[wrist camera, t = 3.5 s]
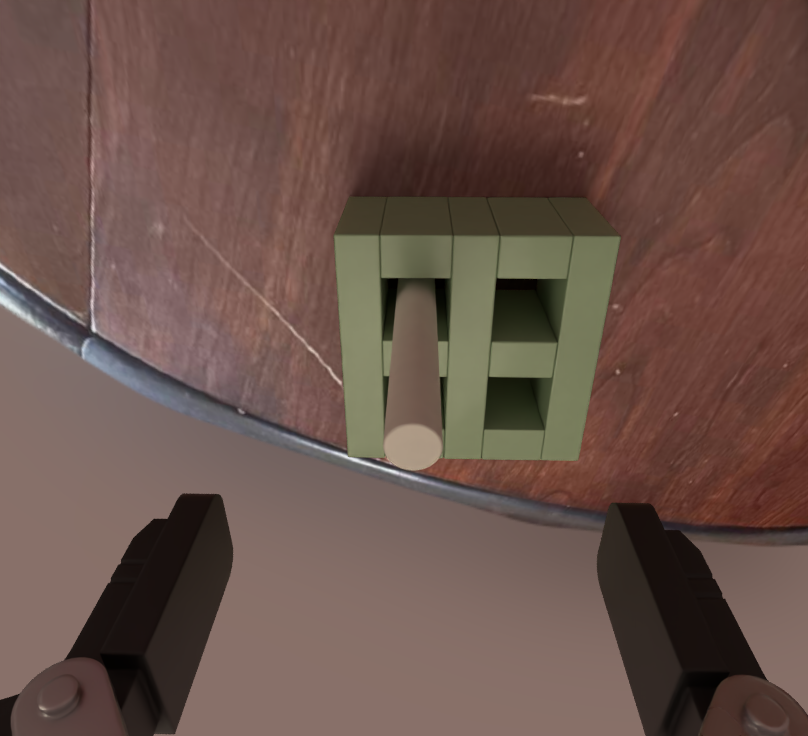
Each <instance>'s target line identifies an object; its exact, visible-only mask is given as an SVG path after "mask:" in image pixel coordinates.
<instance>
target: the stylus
mask: <svg viewBox="0 0 808 736" xmlns="http://www.w3.org/2000/svg"><path fill="white" fill-rule="evenodd" d="M383 449H384V453H385V455H386V457H387V458H388V459H389V461H390V462H391V463H393V464H394V465H395V466H397V467H399V468H402V469H406V470H421V469H425V468H427V467H429V466H431V465H433V464H434V463H435V462H436V461H437V460H438V459H439V457H440V456H441V454H442V450H443V437H442V417H441V396H440V376H439V356H438V335H437V315H436V294H435V278H398V286H397V297H396V308H395V319H394V330H393V341H392V352H391V363H390V374H389V385H388V396H387V407H386V418H385V430H384V441H383Z"/></svg>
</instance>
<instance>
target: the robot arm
mask: <svg viewBox="0 0 808 736" xmlns="http://www.w3.org/2000/svg"><path fill="white" fill-rule="evenodd" d="M232 562H233V545H232V540H231V535H230V531H229V526H228V522H227V517H226V513H225V508H224V504H223V500H222V497H221V496H220V495H219V494H182V495H180V497H179V498H178V500H177V501H176V503H175V506H174V508H173V509H172V511H171V513H170V515H169V517H168V519H153V520H152V521H151V522H150V523H149V524H148V525H147V526H146V527H145V528H144V529H142V530H141V531H140V532H139V533H138V534H137V535H136V536H135V537H134V538H133V540H132V541H131V543H130V545H129V547H128V549H127V550H126V552H125V554H124V556H123V558H122V559H121V564H120V565H118V566H117V568H116V570H115V572H114V574H113V575H112V577H111V582H110V583H108V585H107V586H106V588H105V590H104V592H103V593H102V595H101V597H100V599H99V600H98V602H97V604H96V606H95V608H94V610H93V611H92V613H91V615H90V617H89V618H88V620H87V622H86V624H85V626H84V627H83V629H82V631H81V633H80V635H79V636H78V638H77V640H76V642H75V644H74V645H73V647H72V649H71V651H70V652H69V654H68V655H67V657H66V658H65V660H64V661H61V662H59V663H56V664H54V665H52V666H50V667H49V668H47V669H45V670H44V671H43V672H41V673H40V674H38V675H37V676H36V677H35V678H34V679H32V680H31V681H30V682H29V684H28V685H27V686H26V687H25V688H24V689H23V691H22V692H21V693H20V694H18V695H15V696H12V697H9V698H5V699H2V700H0V736H153V735H154V734H175V732H176V729H177V726H178V723H179V720H180V717H181V715H182V712H183V709H184V706H185V703H186V700H187V697H188V694H189V692H190V689H191V686H192V683H193V680H194V677H195V674H196V672H197V669H198V666H199V663H200V660H201V657H202V654H203V652H204V649H205V646H206V643H207V640H208V637H209V634H210V631H211V628H212V625H213V623H214V620H215V617H216V614H217V611H218V608H219V606H220V602H221V600H222V597H223V594H224V591H225V588H226V585H227V582H228V580H229V577H230V573H231V568H232ZM597 573H598V580H599V584H600V588H601V591H602V594H603V598H604V601H605V605H606V608H607V611H608V614H609V618H610V621H611V624H612V627H613V631H614V634H615V637H616V640H617V644H618V647H619V650H620V654H621V657H622V660H623V663H624V667H625V670H626V673H627V676H628V679H629V683H630V686H631V689H632V693H633V696H634V699H635V702H636V706H637V709H638V712H639V715H640V719H641V722H642V725H643V729H644V732H645V735H646V736H808V715H807V714H806V712H805V711H804V709H803V708H802V707H801V706H800V705H799V703H798V702H797V701H796V700H795V699H793V698H792V697H791V696H790V695H789V694H788V693H787V692H785V691H784V690H782V689H781V688H779V687H778V686H776V685H775V684H773V683H771V682H769V681H768V680H767V679H766V677H765V675H764V674H763V672H762V670H761V668H760V666H759V664H758V662H757V660H756V658H755V657H754V654H753V652H752V651H751V649H750V647H749V645H748V643H747V641H746V639H745V637H744V635H743V633H742V631H741V629H740V627H739V625H738V623H737V621H736V619H735V617H734V616H733V614H732V612H731V610H730V608H729V606H728V604H727V602H726V600H725V599H723V597H722V592H721V590H720V588H719V586H718V585H717V583H716V581H715V579H713V578H712V573H711V571H710V569H709V567H708V565H707V564H706V561H705V559H704V557H703V555H702V553H701V551H700V550H699V549H698V548H697V547H696V546H695V545H694V544H693V543H692V542H691V541H690V540H689V539H688V538H687V537H686V536H685V535H683V534H682V533H681V532H680V531H679V530H664V528H663V526H662V523H661V521H660V519H659V517H658V515H657V513H656V511H655V509H654V507H653V506H652V505H651V504H649V503H611V504H610V506H609V509H608V512H607V517H606V521H605V525H604V529H603V533H602V538H601V542H600V546H599V550H598V555H597Z"/></svg>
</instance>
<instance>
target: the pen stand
mask: <svg viewBox="0 0 808 736" xmlns="http://www.w3.org/2000/svg"><path fill="white" fill-rule="evenodd" d="M620 239H621V236H620V235H619V234H618V233H617V232H616V230H615V229H614V228H613V227H612V226H611V225H610V224H609V223H608V222H607V221H606V219H605V218H604V217H603V216H602V215H601V214H600V213H599V212H598V211H597V209H596V208H595V207H594V206H593V205H592V204H591V203H590V202H589V201H588V199H587V198H561V197H549V198H548V199H547V198H529V197H488V198H487V199H486V198H485V197H449V198H447V197H349V199H348V201H347V204H346V206H345V209H344V211H343V214H342V216H341V219H340V221H339V223H338V226H337V228H336V231H335V233H334V250H335V265H336V280H337V296H338V311H339V326H340V341H341V357H342V372H343V387H344V403H345V418H346V433H347V449H348V457H372V458H384V457H385V456H386V455H385V453H384V449H383V441H384V430H385V418H386V407H387V396H388V385H389V374H390V363H391V352H392V341H393V330H394V319H395V308H396V297H397V289H389V278H445V288H444V289H435V294H436V315H437V335H438V356H439V376H440V396H441V417H442V437H443V450H442V454H441V456H440V457H439V458H443V457H444V458H445V459H481V458H482V459H496V460H540V459H541V460H571V461H577V460H578V459H579V454H580V448H581V443H582V438H583V433H584V427H585V422H586V417H587V412H588V407H589V401H590V396H591V391H592V386H593V380H594V375H595V370H596V365H597V360H598V354H599V349H600V344H601V339H602V333H603V328H604V323H605V318H606V313H607V307H608V302H609V297H610V292H611V286H612V281H613V276H614V271H615V266H616V260H617V255H618V250H619V245H620ZM496 277H497V278H502V279H538V281H537V289H536V290H495V289H496Z"/></svg>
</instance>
